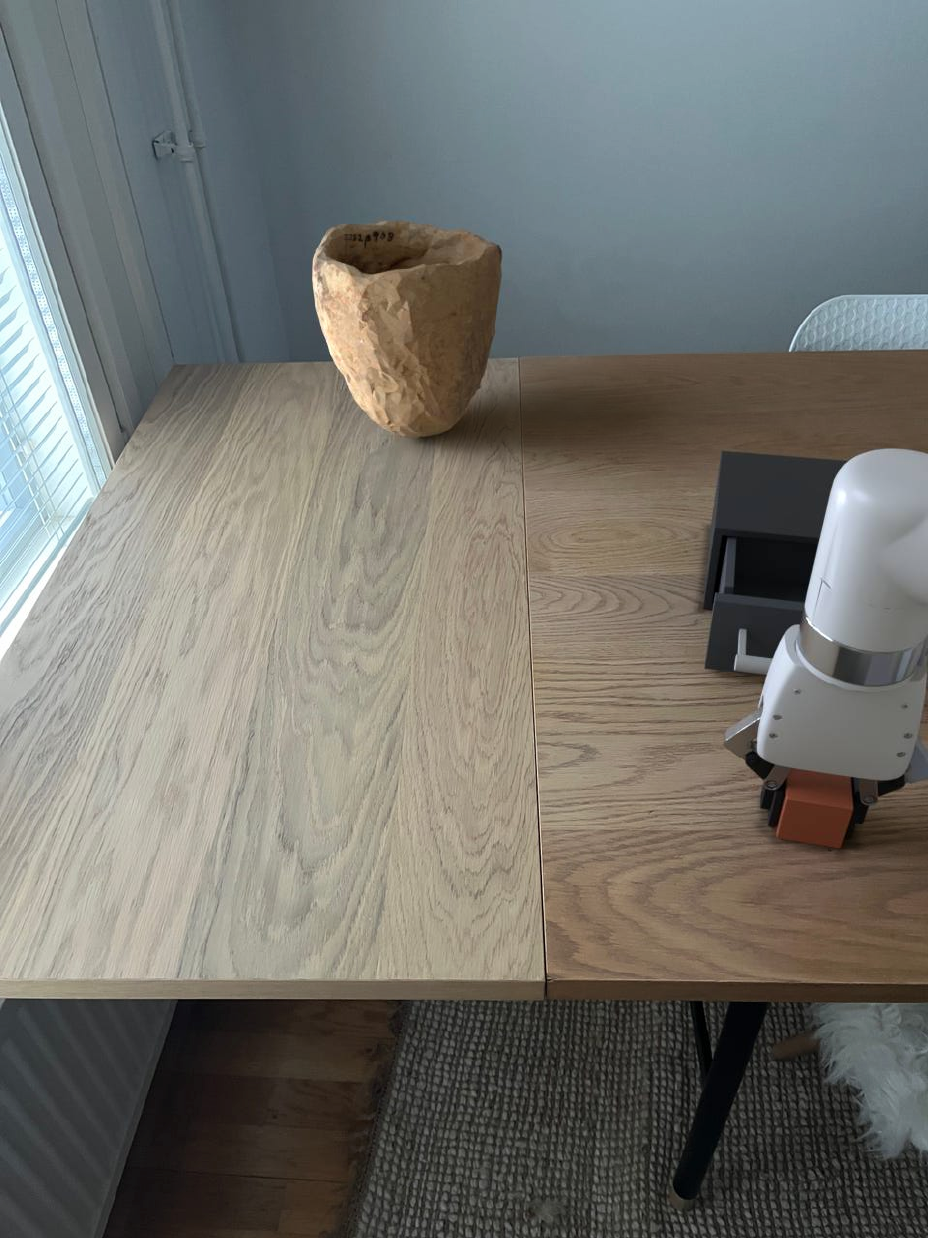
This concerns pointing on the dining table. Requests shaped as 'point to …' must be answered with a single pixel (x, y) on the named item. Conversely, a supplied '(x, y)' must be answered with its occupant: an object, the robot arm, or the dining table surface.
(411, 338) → the rough clay pot
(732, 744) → the robot arm
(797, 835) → the block
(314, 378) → the dining table surface
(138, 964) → the dining table surface
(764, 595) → the dark grey drawer
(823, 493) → the drawer cabinet
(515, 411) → the dining table surface
